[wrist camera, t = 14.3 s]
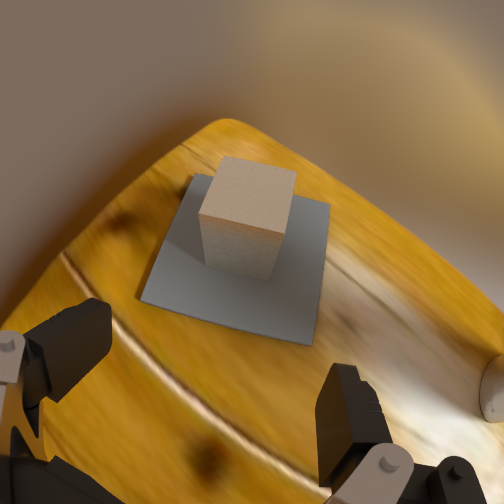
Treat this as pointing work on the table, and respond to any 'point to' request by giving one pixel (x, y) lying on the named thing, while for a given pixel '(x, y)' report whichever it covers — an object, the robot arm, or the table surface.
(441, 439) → the table surface
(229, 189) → the block
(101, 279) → the table surface
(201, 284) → the mat
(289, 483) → the table surface
